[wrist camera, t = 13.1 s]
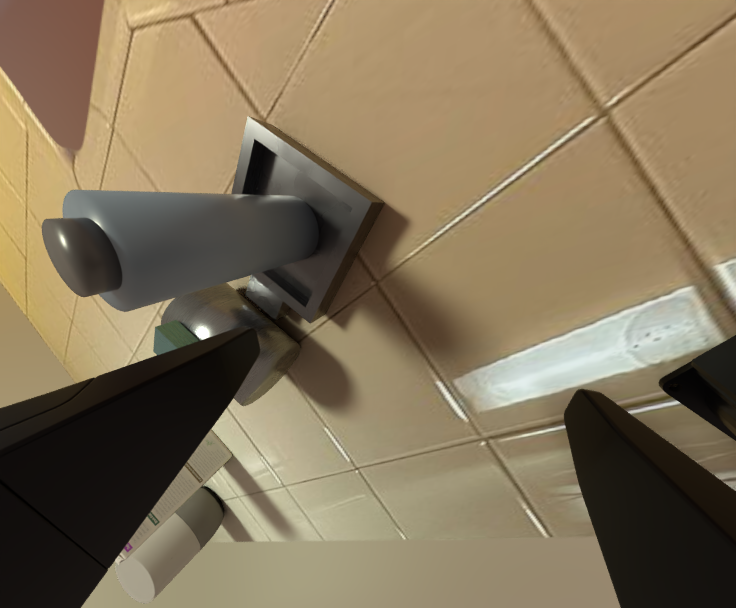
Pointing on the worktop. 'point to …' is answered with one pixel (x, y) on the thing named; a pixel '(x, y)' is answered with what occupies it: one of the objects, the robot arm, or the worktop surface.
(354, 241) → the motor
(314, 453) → the worktop surface
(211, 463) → the syrup box
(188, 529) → the smart speaker
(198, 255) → the blue-grey capped bottle
